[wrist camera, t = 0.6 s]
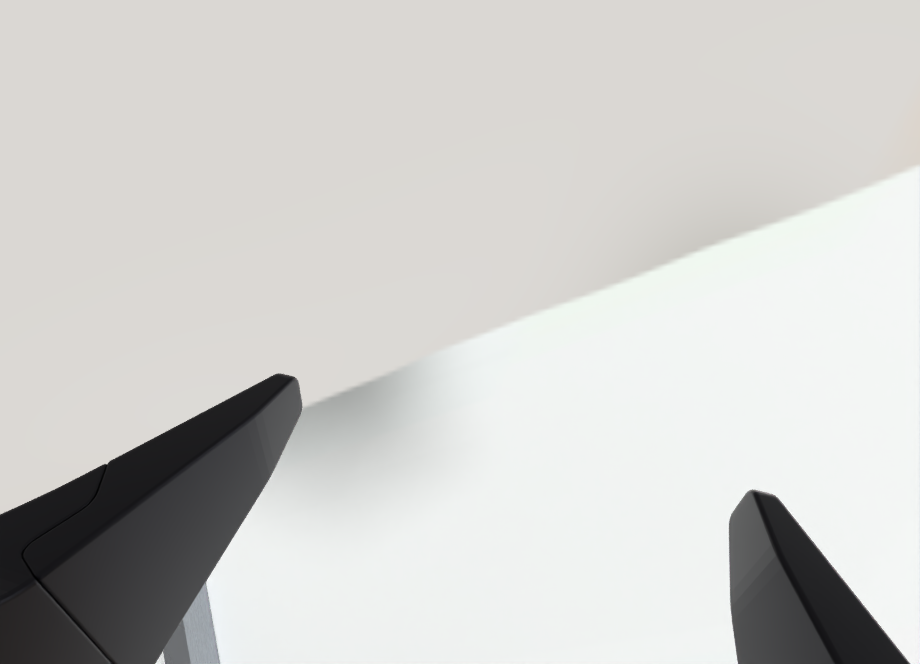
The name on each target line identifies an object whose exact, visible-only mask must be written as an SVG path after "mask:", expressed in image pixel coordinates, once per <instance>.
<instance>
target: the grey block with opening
mask: <svg viewBox="0 0 920 664" xmlns="http://www.w3.org/2000/svg"><path fill="white" fill-rule="evenodd" d="M163 653H164V658H165V664H220V662H219V656H218V650H217V645H216V639H215V633H214V628H213V622H212V616H211V610H210V605H209V599H208V593H207V588H206V582H205V584H204V585H203V587H202V589H201V590H200V592H199V594H198V595H197V597H196V598H195V600H194V602H193V603H192V605H191V606H190V608H189V610H188V611H187V613H186V615H185V616H184V618H183V619H182V621H181V623H180V624H179V626H178V627H177V629H176V631H175V632H174V634H173V635H172V637H171V639H170V640H169V642H168V644H167V645H166V647H165V648H164V650H163Z"/></svg>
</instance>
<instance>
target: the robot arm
mask: <svg viewBox="0 0 920 664" xmlns="http://www.w3.org/2000/svg"><path fill="white" fill-rule="evenodd" d="M301 411H302V400H301V394H300V388H299V383H298V380H297V379H296V378H295V377H293V376H289V375H284V374H275V375H273V376H271V377H269V378H267V379H265V380H264V381H262V382H260V383H258V384H256V385H254V386H252V387H250V388H248V389H246V390H245V391H243V392H241V393H239V394H237V395H235V396H233V397H231V398H230V399H228V400H226V401H224V402H222V403H220V404H218V405H216V406H214V407H212V408H210V409H208V410H207V411H205V412H203V413H201V414H199V415H197V416H195V417H194V418H191V419H189V420H187V421H186V422H184V423H182V424H180V425H178V426H176V427H174V428H172V429H170V430H169V431H167V432H165V433H163V434H161V435H159V436H157V437H155V438H154V439H151V440H150V441H148V442H146V443H144V444H142V445H140V446H138V447H136V448H134V449H132V450H130V451H129V452H127V453H125V454H123V455H121V456H119V457H117V458H115V459H113V460H111V461H110V462H109V463H108V465H107V464H104V465H102V466H100V467H98V468H96V469H94V470H92V471H90V472H88V473H86V474H85V475H83V476H80V477H79V478H77V479H75V480H73V481H71V482H69V483H67V484H65V485H63V486H61V487H59V488H57V489H55V490H53V491H51V492H48V493H46V494H44V495H42V496H40V497H38V498H36V499H33V500H31V501H29V502H27V503H25V504H23V505H21V506H18V507H16V508H14V509H12V510H9V511H8V512H5V513H3V514H1V515H0V664H155V663H156V661H157V660H158V658H159V656H160V655H161V653H162V652H163V650H164V648H165V647H166V645H167V644H168V642H169V640H170V639H171V637H172V635H173V634H174V632H175V631H176V629H177V627H178V626H179V624H180V623H181V621H182V619H183V618H184V616H185V615H186V613H187V611H188V610H189V608H190V606H191V605H192V603H193V602H194V600H195V598H196V597H197V595H198V594H199V592H200V590H201V589H202V587H203V585H204V584H205V582H206V581H207V579H208V577H209V576H210V574H211V573H212V571H213V569H214V568H215V566H216V564H217V563H218V561H219V560H220V558H221V556H222V555H223V553H224V552H225V550H226V548H227V547H228V545H229V543H230V542H231V540H232V539H233V537H234V535H235V534H236V532H237V531H238V529H239V527H240V526H241V524H242V523H243V521H244V519H245V518H246V516H247V514H248V513H249V511H250V510H251V508H252V506H253V505H254V503H255V502H256V500H257V498H258V497H259V495H260V493H261V492H262V490H263V489H264V487H265V485H266V484H267V482H268V480H269V478H270V477H271V475H272V473H273V471H274V469H275V467H276V465H277V463H278V461H279V459H280V456H281V454H282V452H283V450H284V448H285V446H286V444H287V442H288V440H289V438H290V435H291V433H292V431H293V429H294V427H295V425H296V423H297V421H298V419H299V417H300V414H301ZM729 562H730V603H731V615H732V624H733V631H734V638H735V646H736V653H737V660H738V664H910V663H909V662H908V660H907V659H906V658H905V657H904V655H903V654H902V653H901V652H900V650H899V649H898V648H897V647H896V645H895V644H894V643H893V642H892V640H891V639H890V638H889V637H888V635H887V634H886V633H885V632H884V630H883V629H882V628H881V626H880V625H879V624H878V623H877V621H876V620H875V619H874V618H873V616H872V615H871V614H870V613H869V611H868V610H867V609H866V608H865V606H864V605H863V604H862V603H861V601H860V600H859V599H858V598H857V596H856V595H855V594H854V593H853V591H852V590H851V589H850V588H849V586H848V585H847V584H846V583H845V581H844V580H843V579H842V578H841V576H840V575H839V574H838V573H837V571H836V570H835V569H834V567H833V566H832V565H831V564H830V562H829V561H828V560H827V559H826V557H825V556H824V555H823V554H822V552H821V551H820V550H819V549H818V547H817V546H816V545H815V544H814V542H813V541H812V540H811V539H810V537H809V536H808V535H807V534H806V532H805V531H804V530H803V529H802V527H801V526H800V525H799V524H798V522H797V521H796V520H795V519H794V517H793V516H792V515H791V514H790V512H789V511H788V510H787V508H786V507H785V506H784V505H783V503H782V502H781V501H780V500H779V499H778V498H777V497H776V496H775V495H773V494H770V493H766V492H762V491H758V490H750V491H748V492H747V493H746V494H745V496H744V497H743V498H742V500H741V501H740V503H739V504H738V506H737V507H736V508H735V510H734V511H733V513H732V515H731V517H730V521H729Z"/></svg>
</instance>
